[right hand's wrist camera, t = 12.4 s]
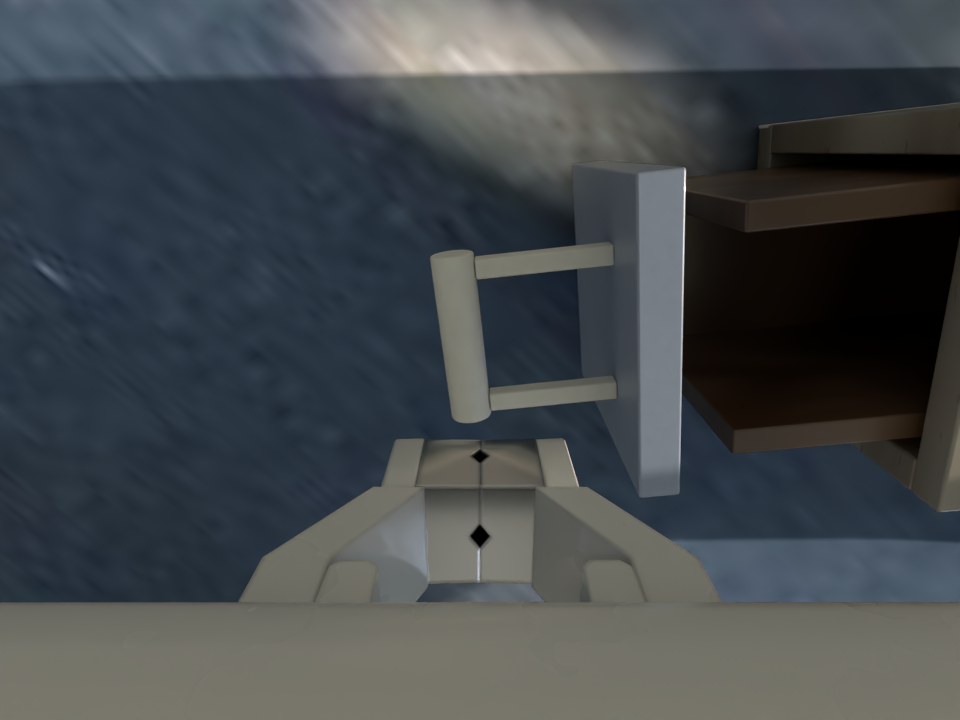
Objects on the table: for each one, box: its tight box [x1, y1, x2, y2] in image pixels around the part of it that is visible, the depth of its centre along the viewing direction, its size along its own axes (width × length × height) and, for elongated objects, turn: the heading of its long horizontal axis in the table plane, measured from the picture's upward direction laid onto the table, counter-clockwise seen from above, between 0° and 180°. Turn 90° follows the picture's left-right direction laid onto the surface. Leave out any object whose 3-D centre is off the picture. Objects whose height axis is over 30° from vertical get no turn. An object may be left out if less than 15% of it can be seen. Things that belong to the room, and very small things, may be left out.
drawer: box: [430, 154, 960, 498], centre depth 19 cm, size 26×9×10 cm, turn 96°
